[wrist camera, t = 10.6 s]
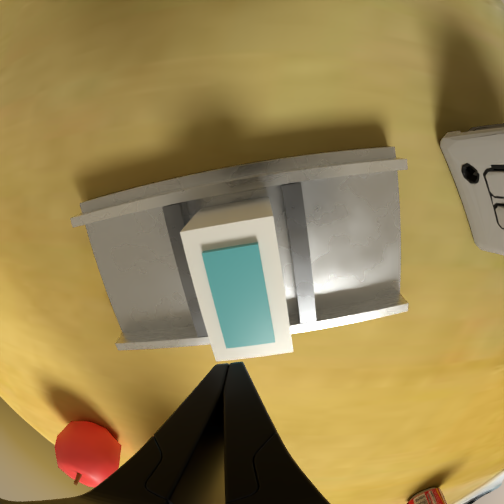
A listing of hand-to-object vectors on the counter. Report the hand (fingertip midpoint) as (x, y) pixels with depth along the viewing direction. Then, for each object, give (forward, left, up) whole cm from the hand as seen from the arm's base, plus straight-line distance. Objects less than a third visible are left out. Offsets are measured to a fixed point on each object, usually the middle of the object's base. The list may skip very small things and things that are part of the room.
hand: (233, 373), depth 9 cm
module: (0, 0, -10) cm, 10 cm away
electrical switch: (+18, +3, -12) cm, 22 cm away
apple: (-21, -19, -12) cm, 31 cm away
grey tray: (0, 0, -11) cm, 11 cm away
